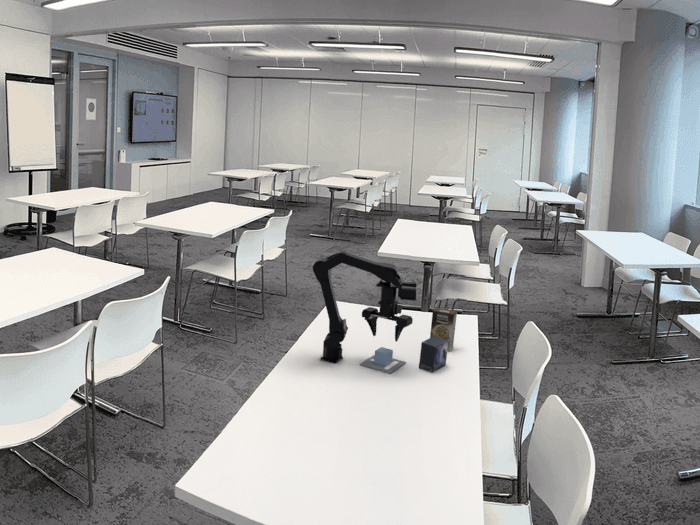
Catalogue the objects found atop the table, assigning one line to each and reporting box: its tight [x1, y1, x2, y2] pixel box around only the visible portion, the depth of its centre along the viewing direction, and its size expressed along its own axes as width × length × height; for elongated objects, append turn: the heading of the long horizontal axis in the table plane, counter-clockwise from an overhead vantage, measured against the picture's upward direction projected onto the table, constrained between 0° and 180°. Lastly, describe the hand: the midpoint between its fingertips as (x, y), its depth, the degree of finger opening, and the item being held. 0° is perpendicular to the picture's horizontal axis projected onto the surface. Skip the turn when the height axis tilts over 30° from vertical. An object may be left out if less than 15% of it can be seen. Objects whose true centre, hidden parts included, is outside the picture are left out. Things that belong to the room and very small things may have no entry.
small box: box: [418, 336, 449, 373], centre depth 220 cm, size 11×6×10 cm, turn 143°
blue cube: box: [374, 346, 394, 366], centre depth 220 cm, size 5×5×5 cm
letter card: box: [359, 354, 407, 375], centre depth 220 cm, size 13×13×1 cm
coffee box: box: [429, 306, 458, 352], centre depth 240 cm, size 9×6×16 cm
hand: (385, 338), depth 218 cm, fingers open, 9 cm apart
